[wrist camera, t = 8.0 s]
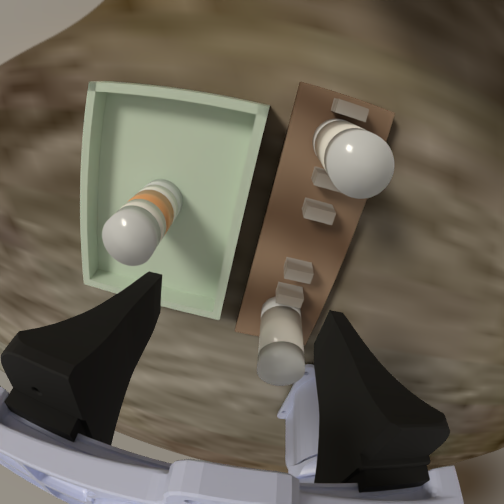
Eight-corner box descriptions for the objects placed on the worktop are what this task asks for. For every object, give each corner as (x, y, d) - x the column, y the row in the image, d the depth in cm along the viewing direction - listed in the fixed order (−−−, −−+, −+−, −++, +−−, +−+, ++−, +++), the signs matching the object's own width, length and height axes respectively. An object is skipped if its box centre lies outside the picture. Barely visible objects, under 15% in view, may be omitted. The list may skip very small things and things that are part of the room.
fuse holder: (304, 337, 27) (306, 358, 25) (236, 323, 26) (232, 344, 24) (389, 111, 18) (403, 115, 15) (299, 82, 17) (303, 81, 15)
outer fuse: (352, 172, 19) (381, 206, 14) (306, 159, 19) (319, 188, 13) (366, 127, 17) (403, 144, 12) (319, 112, 17) (339, 122, 12)
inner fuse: (293, 329, 25) (296, 388, 20) (257, 321, 25) (252, 381, 20) (305, 300, 24) (311, 359, 18) (266, 292, 24) (263, 351, 18)
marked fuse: (180, 224, 22) (152, 271, 17) (139, 215, 22) (102, 259, 16) (185, 183, 20) (155, 220, 15) (143, 175, 20) (102, 209, 15)
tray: (223, 302, 25) (219, 320, 24) (95, 269, 25) (83, 283, 23) (269, 105, 18) (269, 106, 16) (105, 81, 18) (88, 81, 16)
